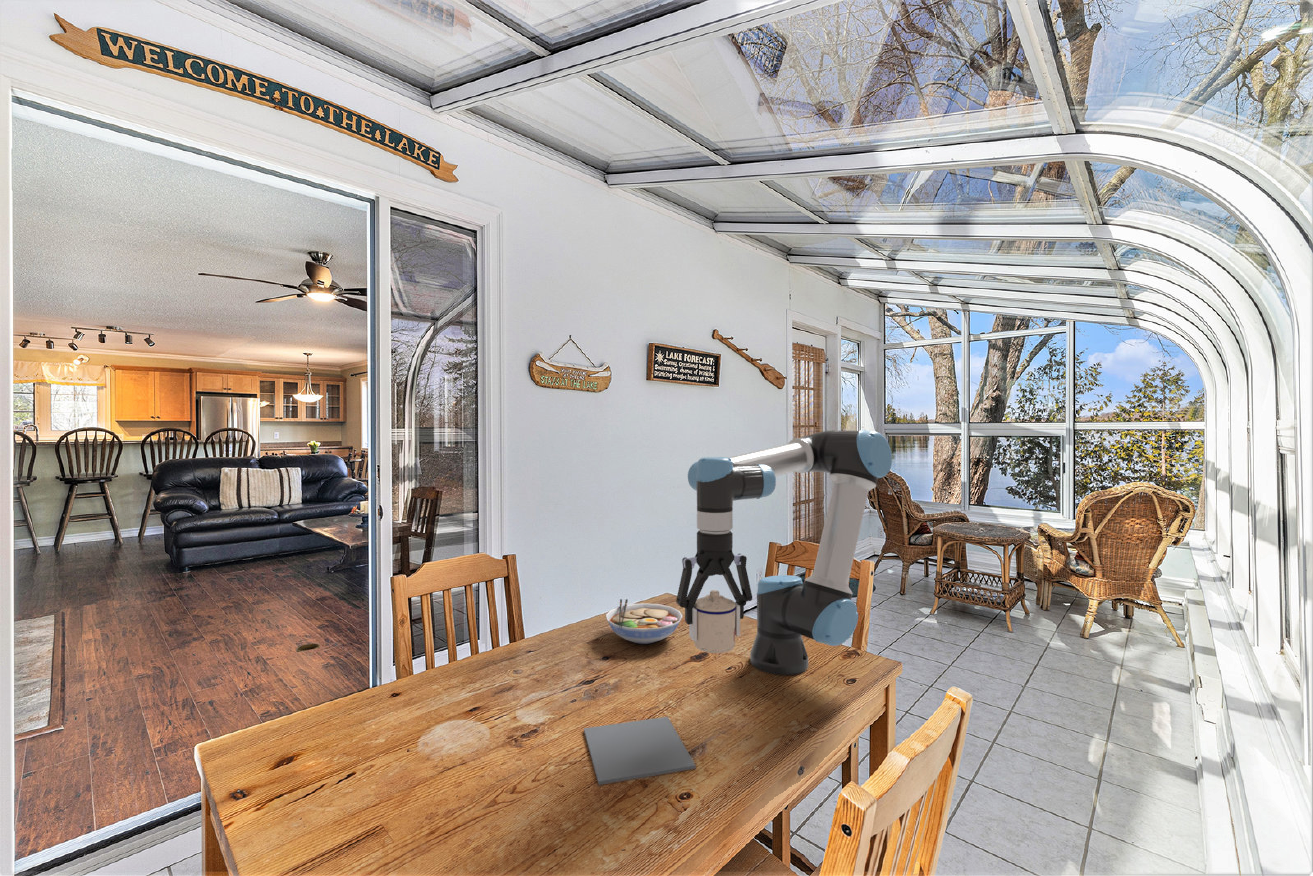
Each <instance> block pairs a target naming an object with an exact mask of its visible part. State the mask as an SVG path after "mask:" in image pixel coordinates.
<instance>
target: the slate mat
mask: <svg viewBox="0 0 1313 876" xmlns="http://www.w3.org/2000/svg"><path fill="white" fill-rule="evenodd" d="M583 732H584V738H585V740H586V743H587V744H586V745H587V747H588V751H589V755H590V758H591V763H592V766H593V770H594V773H595V777H596V781H597V784H598V786H601V785H607V784H612V783H619V782H625V781H630V780H637V779H643V778H648V777H654V776H659V775H661V776H662V775H666V774H673V773H677V772H678V773H679V772H683V771H690V770H696V763H695V761H694V760H693V758H692V756H691V755H690V753H689V751H688V750H687V748H686V746H685V744H684V743H683V741H682V739H681V737H680V735H679V734H678V733H677V730H676V729H675V727H674V725H673V723H672V722H671V720H670V717H669V716H662V717H655V718H648V719H641V720H640V719H639V720H632V721H627V722H620V723H612V724H605V725H599V726H591V727H585V728H583Z"/></svg>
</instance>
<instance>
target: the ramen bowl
mask: <svg viewBox="0 0 1313 876" xmlns="http://www.w3.org/2000/svg"><path fill="white" fill-rule="evenodd" d="M605 618H606V620H607V623H608V625H609V628H611V630H612V631H613V633H615V634H616V635H617V636H619V637H621V638H622V639H624V640H626V641H629V642H632V643H635V644H638V645H649V644H650V645H651V644H653V643H655V642H658V641H662V640H664V639H666V638H668V637H669V636H671V635H672V634H673V633H674V632H675V631H676V629H677V628H678V626H679V623H680V622H681V620H682V618H683V614H682V613H681V611H680V610H679V609H676V608H674V607H672V606H669V605H664V604H660V603H646V602H645V603H643V602H642V603H629V604H628V599H625V601H624V605H623V599H622V598H621V599H619V606H617V607H614V608H612V609H610V610H608V612H606V614H605Z"/></svg>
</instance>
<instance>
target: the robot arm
mask: <svg viewBox="0 0 1313 876" xmlns="http://www.w3.org/2000/svg"><path fill="white" fill-rule="evenodd" d="M892 454H893V453H892V449H891V446H890V444H889V442H888V440H887V438H886V437H885V436H884V435H883V434H882V433H880V432H878V431H871V430H866V429H861V430H825V431H824V430H823V431H820V432H815V433H812V434H808V435H804V436H801V437H796V438H793V439H791V440H790V441H789V442H787V444H781V445H778V446H773V447H769V448H765V449H761V450H756V451H753V452H748V453H743V454H739V455H734V456H730V457H726V456H724V457H723V456H711V457H710V456H707V457H705V456H704V457H700V458H699V459H698V461H695V462H694V463H692V464H691V465H690V467H689V468H688V472H687V480H688V481H687V482H688V485H689V486H690V487H691V489H692V490H694V491H696V529H697V532H696V553H695V555H694V557H693V556H692V557H689V558H687V557H685V556H684V557H682V559H681V561H682V562H681V563H682V572H681V577H680V581H679V587H678V591H677V596H676V599H675V601H676V604H677V605H678V606H679V607H680V608H684V621H685V623H686V625H688V629H689V631H688V633H689V635H688V637H689V638H690V639H691V640H692V641H693V642H694V641H697V609H695V608H694V605H695V603H696V601H697V599H699V596H700V594H701V592H702V589H703V587H704V586H705V583H706V581H707V580H708V579H709V577H713V576H715V575H716V576H717V575H719V576H723V577H724V580H725V582H726V585H727V586H728V589H729V590H730V592H731V594H732V596H733V598H734V600H735V601H734V603H735V604H736V610H735V637H740V636H741V620H743V619H744V617H745V606H746V604H747V602H751V601H752V600H753V594H752V590H751V584H750V580H749V575H748V570H747V556H746V555H744V554H742V553H737V554H734V553H733V533H732V531H731V530H733V526H734V525H733V522H734V521H733V520H734V519H733V515H734V514H733V511H734V509H733V506H734V503H733V502H734V501H741V500H753V499H757V500H759V499H761V498H765V497H766V498H767V497H769V496H770V495H772V493H774V491H775V489H776V485H777V478H776V477H779V476H783V475H787V474H790V473H795V472H796V473H798V474H805V473H809V472H810V473H811V472H815V473H816V472H817V473H826V474H828V473H829V478H830V480H831V481H832V483H833V487H832V491H831V493H830V499H829V503H828V508H827V512H826V515H825V521H824V525H823V528H822V533H821V537H820V541H819V546H818V549H817V555H816V559H815V563H814V568H813V571H812V573H811V575H810V576H808V577H807V578H805V579H804V582H803V579H802V578H801V577H800V576H797V575H790V574H789V575H786V574H785V575H783V574H781V575H769V576H766V577H763V578H761V579H760V580H759V581H758V583H757V591H756V625H757V626H756V629H757V630H756V636H755V639H754V641H753V645H752V647H751V650H750V654H749V655H750V658H749V659H750V664H751V666H753V667H754V668H755V669H757V670H759V671H760V672H763V673H766V674H771V675H776V676H777V675H778V676H795V675H799V673H800V674H803V673H804V672H806V671H807V670H808V669H807V668H809V656H808V652H807V649H806V646H805V643H804V642H805V641H804V639H803V637H805V638H808V639H811V640H813V641H815V642H816V643H820V644H824V645H827V646H830V647H837V646H840V645H842V644H844V643H845V642H846V641H848V640H850V638H851V637H852V635H853V634H854V632H855V630H856V628H857V625H858V620H859V612H857V611H858V606H857V604H856V603H855V602H854V601H853V600H852V597H853V591H852V590H851V588H850V587H849V580H850V577H851V571H852V566H853V564H854V557H855V554H856V549H857V544H858V540H859V535H860V531H861V527H862V526H861V525H862V523H863V517H864V513H865V509H866V505H867V504H866V503H867V500H868V497H869V496H868V494H869V492H870V491H872V490H873V489H875V488H877V485H878V481H879V480H878V479H881V478H884V477H886V476H887V475H888V474H889V472H890V471H891V468H892V463H893V455H892ZM733 562H734V564H735V567H736V572H737V575H738V579H739V585H740V589H741V590H740V589H739V586H738V584H737V582H736V580H735V578H734V576H733V572H732V571H731V569H730V566H732V563H733ZM695 564H697V565H698V567H699V568H698V570H697V571H696V572H697V573H696V577H695V579H694V581H693V583H692V585H691V588H690V584H691V579H692V575H693V569H694V568H695ZM689 588H690V590H689Z"/></svg>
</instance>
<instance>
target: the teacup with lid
mask: <svg viewBox="0 0 1313 876" xmlns="http://www.w3.org/2000/svg"><path fill="white" fill-rule="evenodd" d="M734 602H735V601H734V600H732V599H730V598H727V597H725V596H723V595H721V594H720V591H719V590H717V589H716V590H715V589H713V590H710V591H709V594H707V595H705V596H704V597H700V598H699V597H698V598H697V601H696V603H695V605H694V608H695V609H697V641H693V642H694V646H695V647H696V649H697V650H699V651H701V652H703V653H704V652H705V653H708V654H724V653H728V652H730V651H733V650H734V649H735V647H736V635H735V610H736V604H735V603H734Z"/></svg>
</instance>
